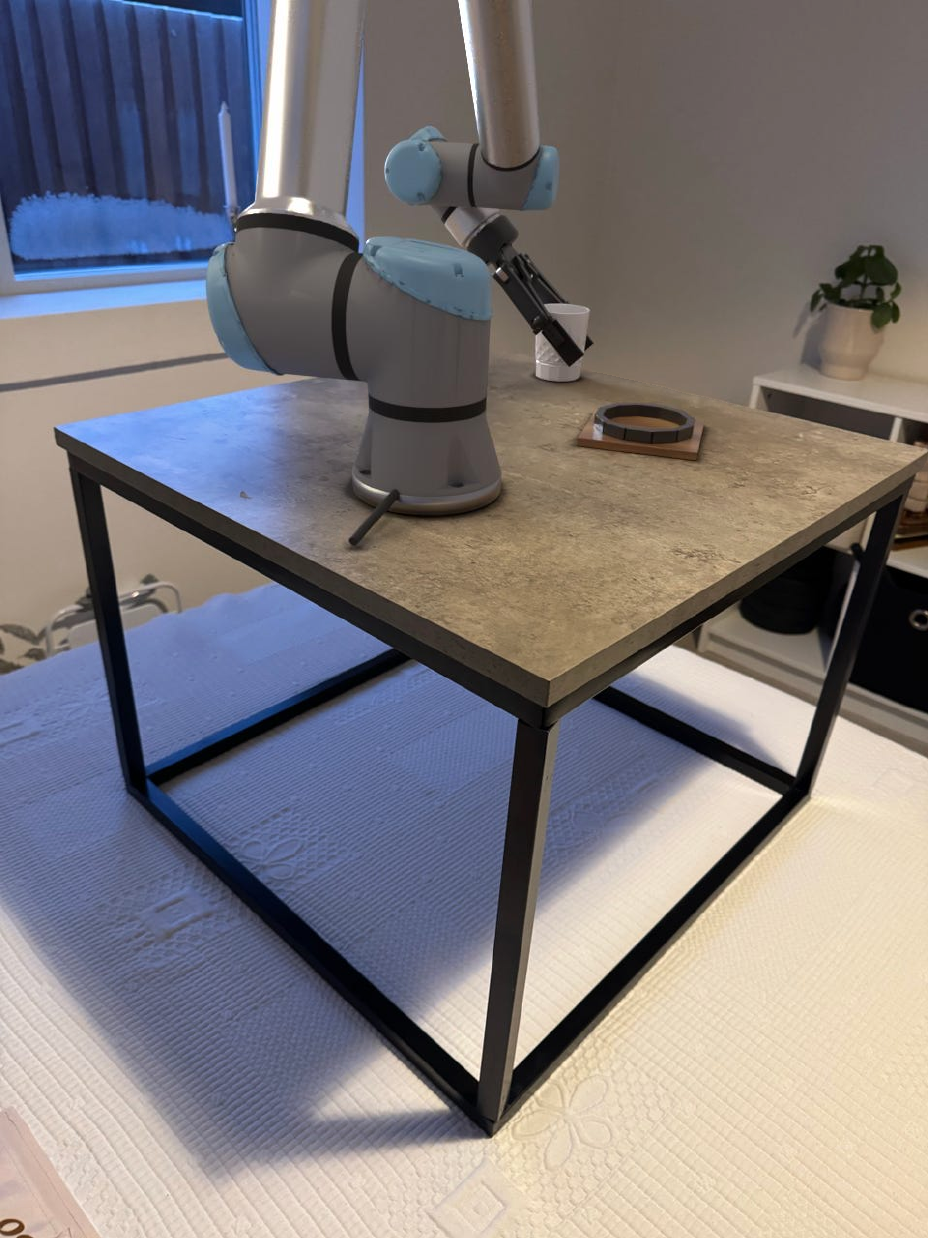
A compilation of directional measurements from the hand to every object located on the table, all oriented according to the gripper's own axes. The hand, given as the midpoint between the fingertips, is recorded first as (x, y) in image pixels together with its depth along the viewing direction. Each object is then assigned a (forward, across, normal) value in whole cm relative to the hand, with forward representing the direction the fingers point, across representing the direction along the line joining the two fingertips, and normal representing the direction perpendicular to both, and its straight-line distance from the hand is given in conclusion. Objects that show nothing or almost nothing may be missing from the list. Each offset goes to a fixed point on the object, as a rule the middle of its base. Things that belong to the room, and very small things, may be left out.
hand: (581, 354), depth 129 cm
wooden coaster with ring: (+11, -25, -6) cm, 28 cm away
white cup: (0, 0, +5) cm, 5 cm away
